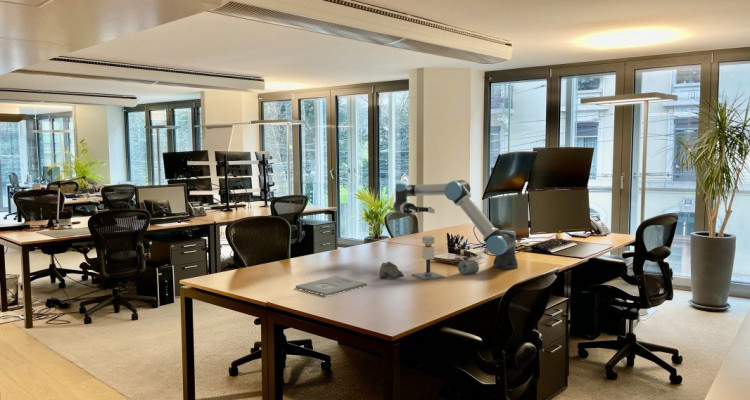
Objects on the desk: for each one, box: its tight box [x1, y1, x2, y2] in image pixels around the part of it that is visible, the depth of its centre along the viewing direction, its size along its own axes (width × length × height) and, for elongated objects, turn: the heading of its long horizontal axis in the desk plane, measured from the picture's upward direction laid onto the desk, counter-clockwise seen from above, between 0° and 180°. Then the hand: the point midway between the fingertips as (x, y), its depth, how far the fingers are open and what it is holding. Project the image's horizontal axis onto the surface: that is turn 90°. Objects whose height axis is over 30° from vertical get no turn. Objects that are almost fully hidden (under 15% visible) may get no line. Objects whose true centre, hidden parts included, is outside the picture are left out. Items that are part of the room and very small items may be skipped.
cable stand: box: [411, 235, 446, 281], centre depth 330 cm, size 14×14×23 cm
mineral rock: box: [378, 261, 405, 280], centre depth 326 cm, size 13×11×10 cm
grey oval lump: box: [457, 259, 480, 276], centre depth 338 cm, size 14×10×10 cm
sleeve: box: [421, 245, 435, 261], centre depth 330 cm, size 5×5×7 cm
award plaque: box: [295, 275, 368, 296], centre depth 308 cm, size 25×30×2 cm
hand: (424, 211), depth 348 cm, fingers open, 13 cm apart
